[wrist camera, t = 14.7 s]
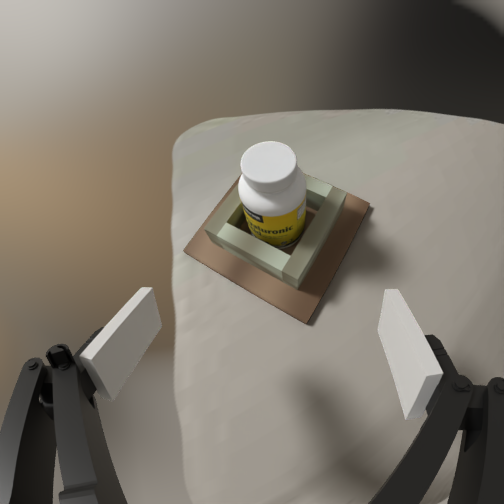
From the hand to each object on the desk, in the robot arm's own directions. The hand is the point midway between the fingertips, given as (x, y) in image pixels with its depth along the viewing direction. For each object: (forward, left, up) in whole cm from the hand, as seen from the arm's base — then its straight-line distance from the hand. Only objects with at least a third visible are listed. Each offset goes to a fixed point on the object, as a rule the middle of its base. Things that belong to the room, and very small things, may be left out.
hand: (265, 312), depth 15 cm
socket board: (+5, -9, -10) cm, 15 cm away
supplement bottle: (+5, -9, -10) cm, 14 cm away
